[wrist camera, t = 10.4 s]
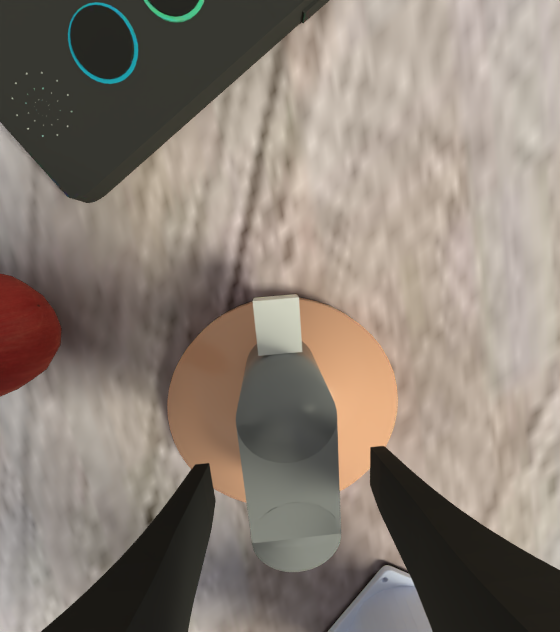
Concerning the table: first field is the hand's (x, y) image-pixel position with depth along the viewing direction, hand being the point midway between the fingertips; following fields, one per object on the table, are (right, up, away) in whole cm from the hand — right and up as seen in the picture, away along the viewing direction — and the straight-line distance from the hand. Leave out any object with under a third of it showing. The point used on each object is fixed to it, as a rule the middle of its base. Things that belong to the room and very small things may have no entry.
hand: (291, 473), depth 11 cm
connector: (0, +2, +4) cm, 5 cm away
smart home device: (-5, +22, +1) cm, 23 cm away
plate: (0, +1, +5) cm, 6 cm away
